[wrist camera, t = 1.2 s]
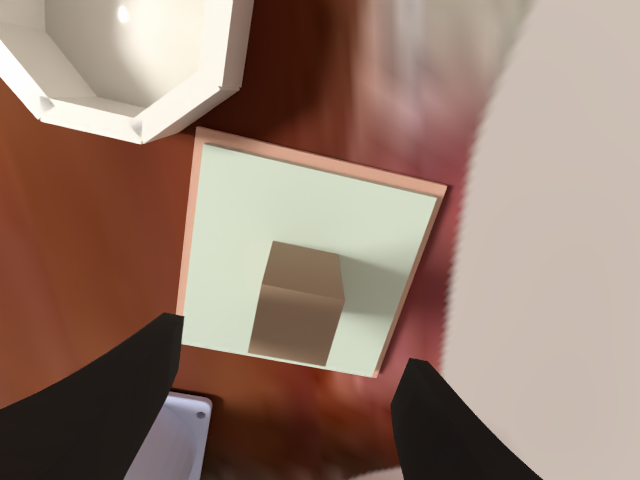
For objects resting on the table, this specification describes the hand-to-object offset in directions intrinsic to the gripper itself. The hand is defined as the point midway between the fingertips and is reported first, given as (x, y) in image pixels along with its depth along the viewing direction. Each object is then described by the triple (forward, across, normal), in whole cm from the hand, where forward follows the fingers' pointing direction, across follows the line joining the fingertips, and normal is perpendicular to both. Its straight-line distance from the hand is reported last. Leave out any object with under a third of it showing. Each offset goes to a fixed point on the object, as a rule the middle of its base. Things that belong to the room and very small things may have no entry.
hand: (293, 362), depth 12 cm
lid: (+7, 0, 0) cm, 7 cm away
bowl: (+7, +8, -9) cm, 14 cm away
